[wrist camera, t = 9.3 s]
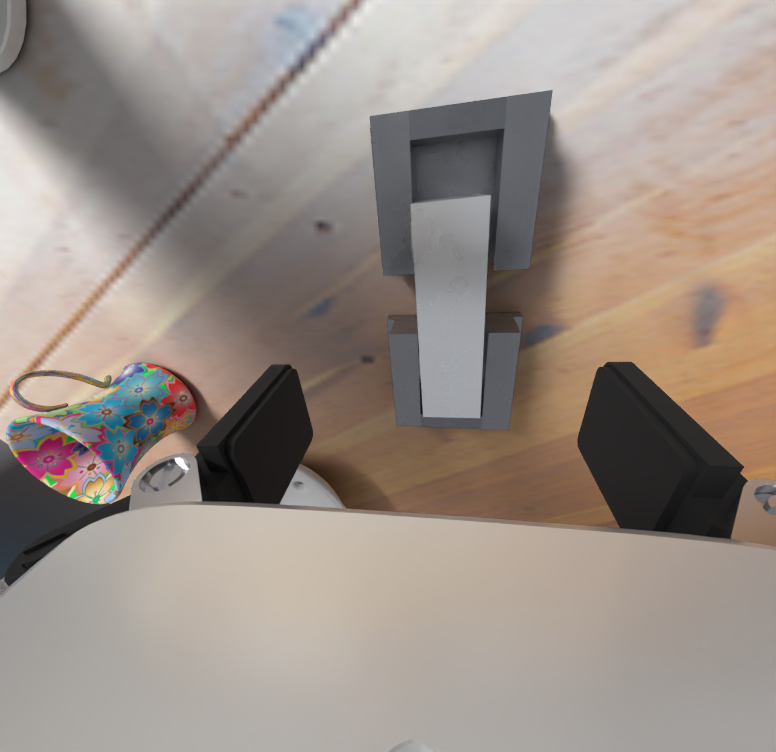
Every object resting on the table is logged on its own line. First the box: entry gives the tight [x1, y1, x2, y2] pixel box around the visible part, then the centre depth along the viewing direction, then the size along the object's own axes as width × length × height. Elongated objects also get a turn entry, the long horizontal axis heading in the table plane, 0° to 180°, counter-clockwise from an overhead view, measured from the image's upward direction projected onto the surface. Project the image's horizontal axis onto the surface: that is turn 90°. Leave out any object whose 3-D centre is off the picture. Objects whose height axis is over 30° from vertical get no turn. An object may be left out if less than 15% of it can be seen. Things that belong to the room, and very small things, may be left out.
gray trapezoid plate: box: [410, 194, 491, 418], centre depth 20 cm, size 12×4×7 cm, turn 6°
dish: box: [280, 464, 346, 509], centre depth 36 cm, size 18×14×5 cm
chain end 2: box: [387, 312, 523, 430], centre depth 25 cm, size 8×10×4 cm
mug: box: [6, 363, 196, 504], centre depth 30 cm, size 12×9×11 cm
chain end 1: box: [370, 90, 552, 276], centre depth 19 cm, size 8×10×4 cm
